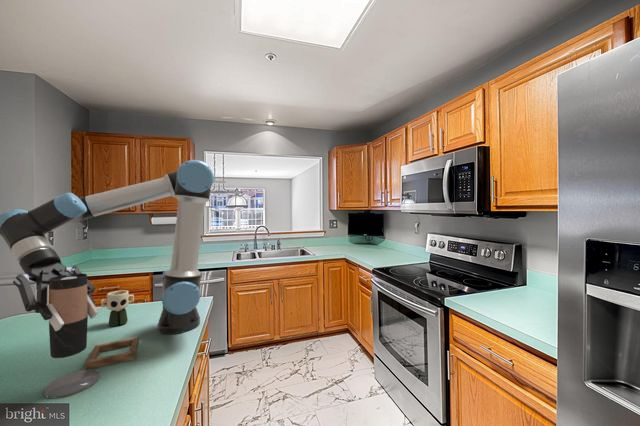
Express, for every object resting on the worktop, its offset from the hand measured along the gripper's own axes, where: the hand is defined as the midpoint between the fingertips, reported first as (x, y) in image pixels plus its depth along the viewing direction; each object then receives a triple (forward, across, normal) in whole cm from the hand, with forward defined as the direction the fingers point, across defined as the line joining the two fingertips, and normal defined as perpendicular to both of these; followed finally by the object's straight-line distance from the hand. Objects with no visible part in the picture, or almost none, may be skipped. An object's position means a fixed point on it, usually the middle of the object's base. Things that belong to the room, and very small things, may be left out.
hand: (78, 320), depth 72 cm
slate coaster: (+10, -1, -14) cm, 18 cm away
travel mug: (+4, 0, -9) cm, 9 cm away
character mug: (-8, -33, -34) cm, 48 cm away
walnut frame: (+7, -15, -17) cm, 24 cm away
